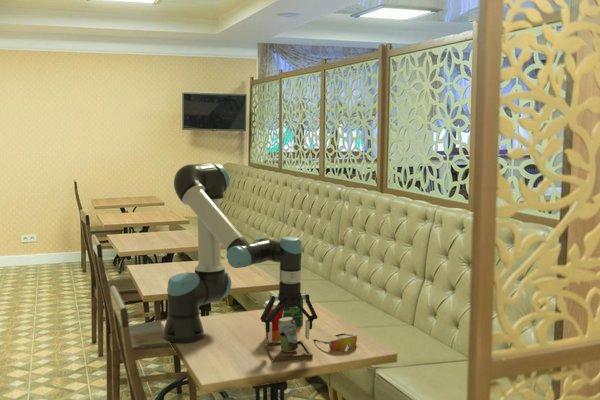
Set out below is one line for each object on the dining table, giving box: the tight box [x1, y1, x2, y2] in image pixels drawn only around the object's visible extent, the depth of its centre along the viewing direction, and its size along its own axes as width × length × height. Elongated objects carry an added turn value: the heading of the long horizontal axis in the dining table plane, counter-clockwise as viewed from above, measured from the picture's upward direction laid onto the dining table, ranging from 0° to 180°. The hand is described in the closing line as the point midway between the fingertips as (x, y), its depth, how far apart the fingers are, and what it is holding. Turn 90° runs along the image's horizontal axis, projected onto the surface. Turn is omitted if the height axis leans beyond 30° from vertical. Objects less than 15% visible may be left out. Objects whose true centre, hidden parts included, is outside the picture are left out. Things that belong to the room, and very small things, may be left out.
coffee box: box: [283, 292, 304, 327], centre depth 263 cm, size 8×3×13 cm, turn 70°
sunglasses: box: [313, 332, 358, 352], centre depth 244 cm, size 14×15×5 cm
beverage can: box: [278, 317, 298, 352], centre depth 232 cm, size 6×7×12 cm
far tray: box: [264, 339, 313, 363], centre depth 233 cm, size 14×14×2 cm
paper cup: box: [263, 299, 283, 342], centre depth 247 cm, size 8×8×14 cm
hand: (288, 339), depth 232 cm, fingers open, 13 cm apart
